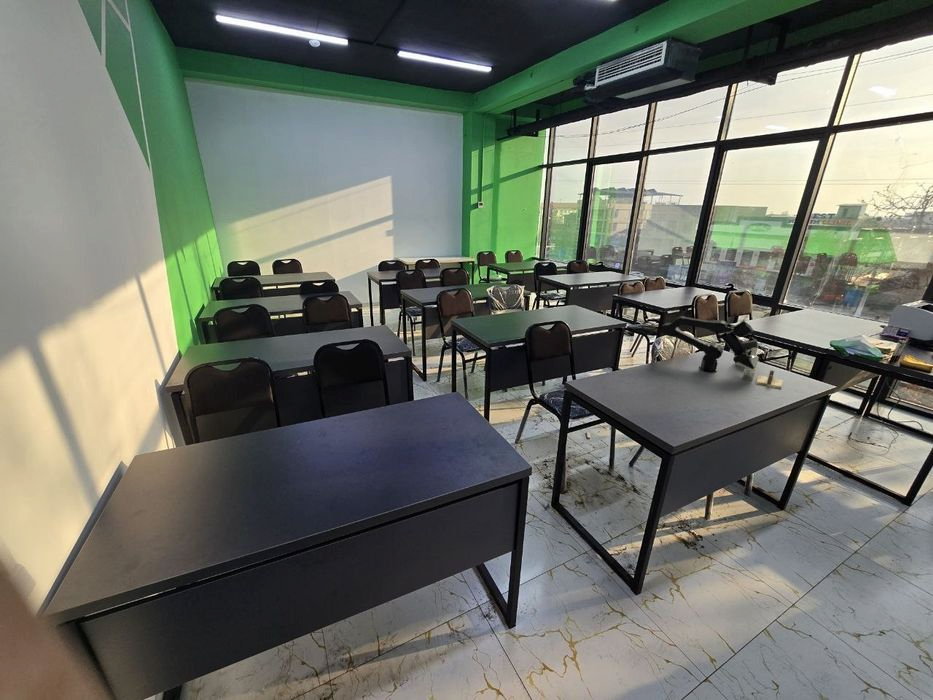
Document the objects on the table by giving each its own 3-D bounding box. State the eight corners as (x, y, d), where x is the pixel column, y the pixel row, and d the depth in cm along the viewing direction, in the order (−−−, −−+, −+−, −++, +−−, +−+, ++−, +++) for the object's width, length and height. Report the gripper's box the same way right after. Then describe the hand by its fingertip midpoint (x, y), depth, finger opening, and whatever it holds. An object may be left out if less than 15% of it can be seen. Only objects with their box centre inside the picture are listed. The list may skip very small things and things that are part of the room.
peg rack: (755, 383, 197) (758, 373, 195) (757, 377, 204) (760, 368, 202) (780, 389, 191) (783, 379, 189) (782, 382, 198) (784, 372, 196)
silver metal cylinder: (745, 380, 201) (750, 358, 197) (740, 376, 205) (745, 354, 201) (754, 380, 200) (760, 358, 196) (749, 376, 205) (755, 355, 201)
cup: (756, 367, 217) (761, 346, 213) (741, 367, 217) (746, 346, 213) (746, 362, 224) (751, 342, 220) (732, 361, 224) (737, 341, 220)
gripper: (746, 338, 190) (769, 364, 187) (751, 329, 204) (772, 354, 201) (724, 349, 198) (745, 375, 195) (730, 340, 211) (749, 364, 208)
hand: (753, 367), depth 200 cm, fingers closed on silver metal cylinder, 5 cm apart
